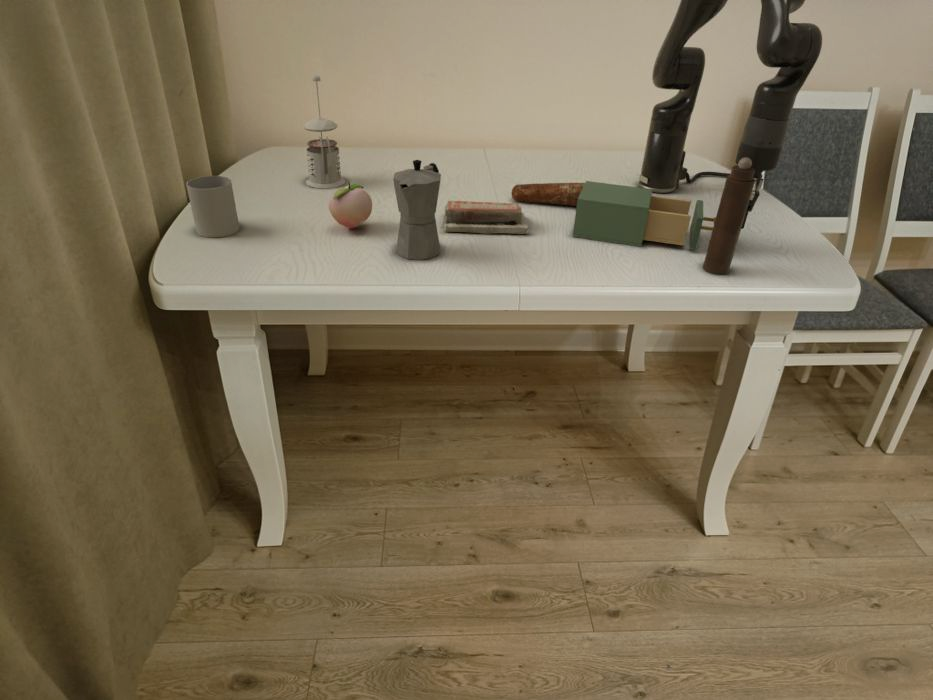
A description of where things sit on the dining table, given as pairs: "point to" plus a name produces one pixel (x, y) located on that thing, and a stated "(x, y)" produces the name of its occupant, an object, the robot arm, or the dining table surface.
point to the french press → (323, 154)
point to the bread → (548, 193)
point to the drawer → (674, 221)
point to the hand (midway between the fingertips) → (737, 227)
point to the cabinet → (612, 213)
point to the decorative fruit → (350, 205)
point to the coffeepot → (417, 211)
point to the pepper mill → (730, 218)
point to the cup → (213, 206)
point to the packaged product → (484, 217)
